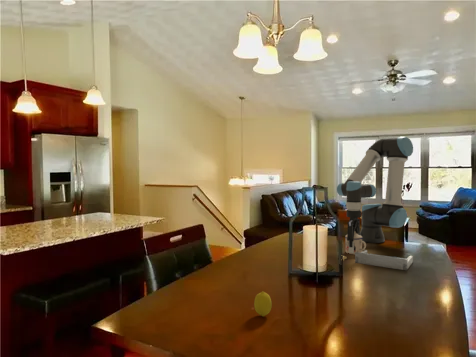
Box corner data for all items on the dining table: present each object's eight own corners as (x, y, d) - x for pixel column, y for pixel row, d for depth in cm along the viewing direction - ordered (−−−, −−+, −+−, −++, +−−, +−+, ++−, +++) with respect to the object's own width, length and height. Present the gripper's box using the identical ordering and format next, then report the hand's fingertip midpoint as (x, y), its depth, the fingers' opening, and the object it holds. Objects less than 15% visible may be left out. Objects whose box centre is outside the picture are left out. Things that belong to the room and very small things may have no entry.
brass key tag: (338, 257, 178) (338, 255, 178) (346, 257, 177) (346, 255, 177) (338, 260, 171) (338, 258, 171) (347, 261, 170) (347, 259, 170)
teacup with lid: (341, 252, 188) (341, 231, 188) (351, 249, 193) (351, 229, 193) (360, 256, 178) (360, 234, 178) (370, 254, 183) (370, 232, 183)
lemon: (260, 311, 112) (260, 287, 112) (275, 315, 109) (274, 291, 109) (250, 317, 108) (250, 292, 108) (265, 322, 105) (265, 296, 104)
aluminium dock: (364, 255, 181) (364, 246, 180) (412, 262, 167) (412, 252, 167) (355, 262, 168) (355, 252, 167) (406, 270, 154) (406, 259, 154)
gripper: (352, 207, 197) (352, 246, 197) (340, 211, 180) (340, 254, 181) (366, 208, 192) (366, 248, 193) (354, 212, 176) (354, 256, 176)
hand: (353, 251), depth 187 cm, fingers closed on teacup with lid, 8 cm apart
